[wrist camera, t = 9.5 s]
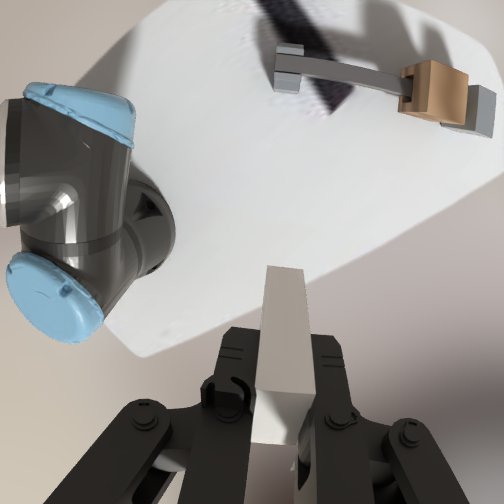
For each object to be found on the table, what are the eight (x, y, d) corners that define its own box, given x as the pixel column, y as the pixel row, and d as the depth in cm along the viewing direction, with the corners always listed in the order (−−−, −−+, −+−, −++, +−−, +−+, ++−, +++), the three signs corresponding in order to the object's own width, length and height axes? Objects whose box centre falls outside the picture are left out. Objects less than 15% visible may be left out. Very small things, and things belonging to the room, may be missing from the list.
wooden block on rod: (397, 111, 32) (427, 112, 25) (401, 69, 30) (431, 59, 22) (430, 121, 32) (464, 125, 24) (434, 79, 30) (468, 74, 22)
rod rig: (274, 91, 35) (272, 83, 27) (277, 49, 33) (277, 30, 25) (457, 131, 34) (492, 138, 26) (460, 93, 32) (496, 93, 23)
